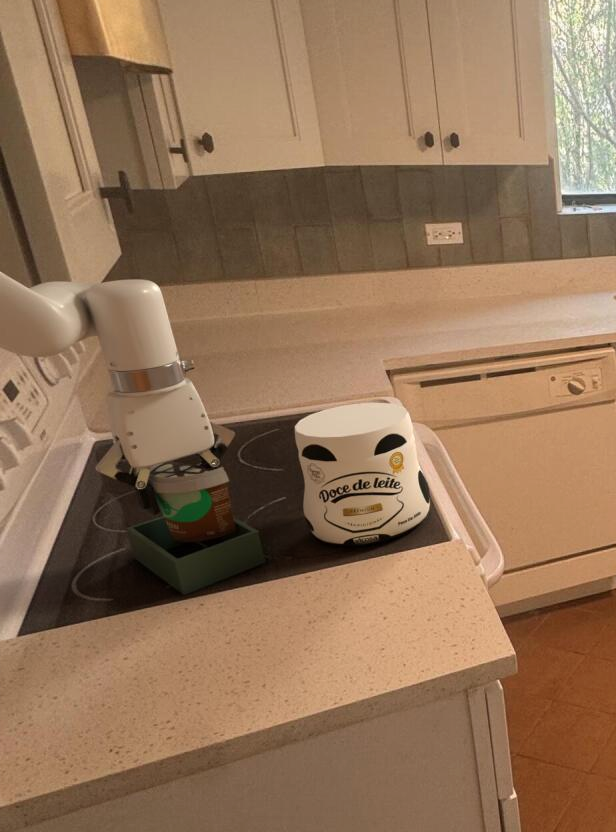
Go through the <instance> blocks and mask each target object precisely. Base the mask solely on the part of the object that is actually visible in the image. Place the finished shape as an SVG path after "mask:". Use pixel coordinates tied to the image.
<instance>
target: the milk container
mask: <svg viewBox="0 0 616 832" xmlns="http://www.w3.org/2000/svg"><path fill="white" fill-rule="evenodd" d="M294 440H295V445H296V447H297V451H298V460H299V464H300V467H301V470H302V475H303V480H304V491H303V492H304V493H303V503H302V504H303V515H304V518H305V521H306V523H307V526H308V528H309V531H310V532H311V534H312V535H313V536H314V537H315V538H316V539H318V540H319V541H321V542H323V543H326V544H328V545H333V546H341V547H360V546H361V547H363V546H368V545H372V544H373V545H374V544H379V543H384V542H387V541H389V540H393V539H395V538H398V537H401V536H403V535H405V534H407V533H408V532H410V531H412V530H414V529H415V528H416V527H417V526H419V525H420V524H421V523H422V522H423V521H424V520H425V519H426V517H427V516H428V513H429V511H430V505H431V492H430V486H429V483H428V481H427V478H426V476H425V475H424V472H423V469H422V468H421V466H420V463H419V459H418V453H417V446H416V438H415V435H414V426H413V423H412V419H411V416H410V413H409V411H408V410H407V409H406V407H405V406H402V405H399V404H396V403H389V402H361V403H353V404H344V405H339V406H334V407H331V408H326V409H322V410H320V411H317V412H314V413H311V414H308V415H307V416H305V417H303V418H301V419H300V420H298V421H297V423H296V424H295V425H294Z"/></svg>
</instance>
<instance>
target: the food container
mask: <svg viewBox="0 0 616 832" xmlns="http://www.w3.org/2000/svg"><path fill="white" fill-rule="evenodd" d="M217 468H218V469H215V470H212V471H211V470H208V469H206V468H203V467H201V466H200V465H198V464H195V463H193V464H192V463H181V462H176V461H174V460H173V461H169V462H165V463H162V464H158V465H155V466H151V470H150V474H149V478H148V484H149V485H150V486H152V487H153V489H154V492H155V495H156V499H157V502H158V506H159V509H160V512H161V513H162V516H164V518H165V520H166V523H167V525H168V528H169V530H170V533H171V535H172V537H173V538H174V539H175V540H178V541H182V542H188V543H195V542H204V541H209V540H214V539H219V538H218V537H221V536H224V535H227V534H230V533H232V532H234V531H236V529H235V524H234V519H233V517H234V515H233V509H232V504H231V497H230V494H229V493H230V492H229V488H228V482H230V479H229V476H228V474H227V471H225V468H224V466H221V467H217Z"/></svg>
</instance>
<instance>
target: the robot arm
mask: <svg viewBox="0 0 616 832" xmlns="http://www.w3.org/2000/svg"><path fill="white" fill-rule="evenodd" d="M91 337H97V339H98V342H99V346H100V349H101V352H102V355H103V356H102V357H103V360H104V362H105V366H106V369H107V372H108V375H109V379H110V382H111V385H112V389H113V390H112V391H109V392H107V394H106V407H107V415H108V422H109V428H110V433H111V437H112V442H113V445H112V446H111V447H110V449H108V451H107V452H106V453H105V454H104V456H103V457H102V458H101V459H100V461H99V462H98V463H96V465H95V470H96V471H97V472H99V473H100V474H103V475H105V476H107V477H108V478H111V479H114V480H116V481H119V482H120V483H123V484H126V485H128V486H131V487H133V490H134V492H135V495H136V499H137V502H138V505H139V507H140V509H142V511H143V510H146V511H147V512H148V513H150V514H152V515H153V516H155V515H159V514H160V513H161V508H160V506H159V504H158V501H157V499H156V495H155V492H154V489H153V487H152V486H150V485H149V484H148V478H149V474H150V470H151V466H155V465H158V464H162V463H165V462H169V461H173V462H174V461H176V460H179V459H184V458H186V457H190V456H193V455H195V456H196V457H198V459H199V460H200V464H199V466H201V467H203V468H206V469H208V470H211V471H212V470H215V469H218V468H219V465H220V464H221V461H220V460H221V459H222V458H223V456H225V454H226V452H227V451H228V447H229V446H230V444H231V443H232V441H233V440H234V437H235V436H236V432H235V431H234V430H231V429H229V428H226V427H224V426H222V425H219V424H217V423H214V422H212V421H210V419H209V417H208V414H207V411H206V408H205V406H204V404H203V402H202V399H201V397H200V395H199V393H198V391H197V389H196V387H195V385H194V384H193V382H192V380H191V379H190V378H187V375H186V374H187V372H189V371H191V370H192V371H193V370H195V364H194V361H193V360H192V359H187V360H185V359H182V358H180V356H179V355H180V354H179V351H178V348H177V344H176V341H175V337H174V332H173V330H172V326H171V322H170V318H169V315H168V311H167V307H166V304H165V299H164V297H163V293H162V290H161V288H160V287H159V285H158V284H156V283H155V282H154V281H152V280H148V279H140V278H139V279H133V278H132V279H118V280H109V281H105V282H77V281H62V280H61V281H60V280H59V281H47V282H41V283H39V284H35V285H33V286H31V287H27V286H25V285H24V284H22V283H20V282H19V281H17V280H15V279H13V278H12V277H10V276H8V275H7V274H5V273H3V272H2V271H0V349H3V350H4V351H8V352H10V353H12V354H16V355H19V356H23V357H28V358H46V357H47V358H48V357H52V356H56V355H58V354H61V353H62V352H64V351H66V350H68V349H69V348H71V347H72V346H74V345H75V344H77V343H80V342H82V341H83V340H86V339H88V338H91ZM214 434H215V435H217V439H216V442H215V436H214ZM119 461H121V462H123V463H128V465H130V469H129V472H127V471H125V470H121V469H119V468H117V467H116V465H117V464H118V463H119Z"/></svg>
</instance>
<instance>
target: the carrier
mask: <svg viewBox="0 0 616 832" xmlns="http://www.w3.org/2000/svg"><path fill="white" fill-rule="evenodd" d="M233 519H234V524H235V529H236V531H234V532H232V533H230V534H227V535H224V536H221V537H218V538H217V539H219V540H221V541H223V542H220V543H217V544H214V545H212V546H208V547H205V548H204V549H200V550H198V551H195V552H192V553H189V554H187V555H184V556H181V557H179V558H177V557H176V556H175V555H173V554H172V553H170V552H168V551H169V550H171V549H175V548H176V547H179V546H182V545H185V544H188V543H189V542H182V541H178V540H175V539H174V538H173V537H172V535H171V533H170V530H169V528H168V525H167V523H166V520H165V518H164V516H163V515H161V516H160V517H155V518H154V519H150V520H147V521H144V522H141V523H138V524H135V525H132V526H129V527H126V528H125V530H126V533H127V536H128V539H129V542H130V545H131V548H132V551H133V555H134V558H135V560H136V561H137V562H139V563H140V564H142V565H143V566H144V567H145V568H147V569H148V570H150V571H151V572H152V573H153V574H154V575H156V576H158V577H159V578H160V579H161V580H163V581H164V582H166V583H167V584H168V585H170V586H171V587H173V588H174V589H175V590H177V591H178V592H179V593H181V594H182V595H183V596H186V595H189V594H190V593H193V592H195V591H199V590H201V589H203V588H205V587H208V586H211V585H214V584H216V583H218V582H220V581H223V580H225V579H228V578H231V577H233V576H236V575H239V574H241V573H243V572H246V571H248V570H251V569H253V568H256V567H258V566H260V565H263V564H266V558H265V554H264V550H263V545H262V541H261V538H260V534H259V530H256V529H255V528H253V527H251V526H250V525H249V524H246V523H244V522H243V521H241V520H239V519H237V518H236V517H234V516H233Z"/></svg>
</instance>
